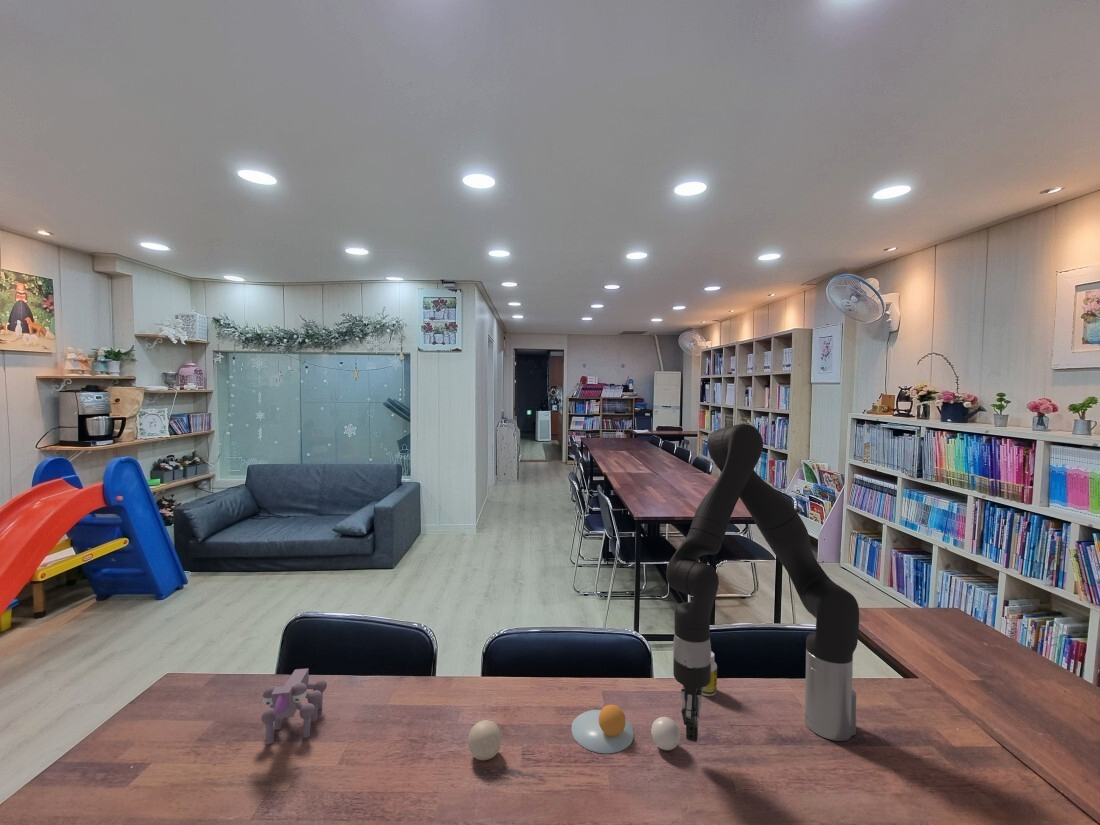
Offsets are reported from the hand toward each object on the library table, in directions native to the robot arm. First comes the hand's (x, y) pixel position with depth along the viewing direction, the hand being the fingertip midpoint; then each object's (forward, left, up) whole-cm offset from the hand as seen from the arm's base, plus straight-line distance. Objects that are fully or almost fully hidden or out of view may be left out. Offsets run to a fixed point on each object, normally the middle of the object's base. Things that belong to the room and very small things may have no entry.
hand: (692, 738), depth 98 cm
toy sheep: (+86, -15, -5) cm, 87 cm away
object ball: (+15, -9, -1) cm, 17 cm away
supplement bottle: (-13, -23, -5) cm, 26 cm away
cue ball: (+4, -4, -1) cm, 6 cm away
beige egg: (+43, -5, -5) cm, 43 cm away
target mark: (+17, -10, -4) cm, 20 cm away
